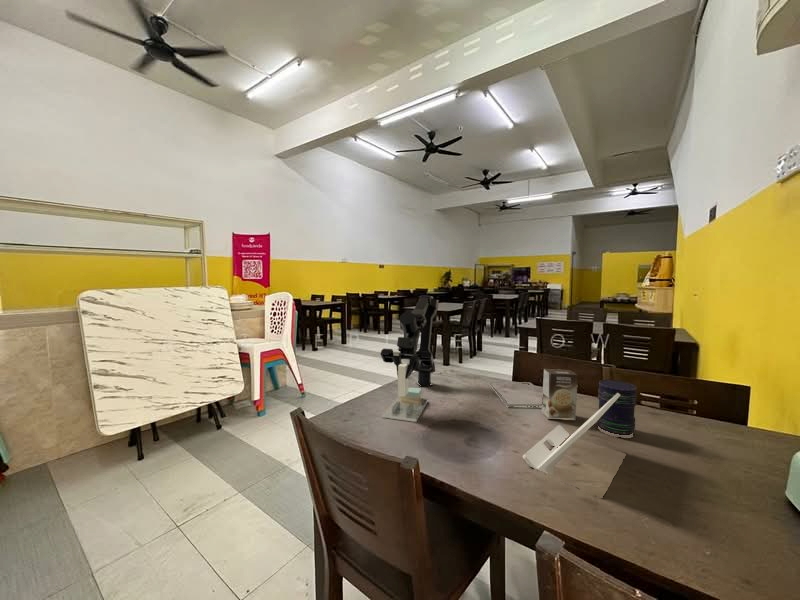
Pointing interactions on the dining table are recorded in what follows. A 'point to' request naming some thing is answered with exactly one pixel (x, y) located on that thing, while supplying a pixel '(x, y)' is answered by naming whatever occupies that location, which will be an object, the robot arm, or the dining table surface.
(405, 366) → the cream rectangular block
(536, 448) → the tablet stand
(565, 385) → the cookie box
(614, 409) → the storage jar
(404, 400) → the block
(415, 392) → the offcut top
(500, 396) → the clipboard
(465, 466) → the dining table surface
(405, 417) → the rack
